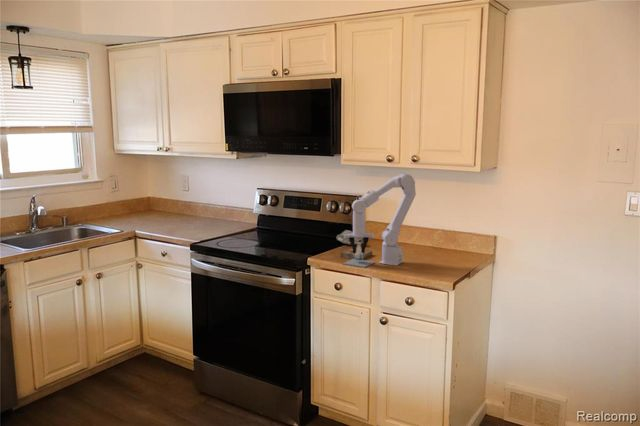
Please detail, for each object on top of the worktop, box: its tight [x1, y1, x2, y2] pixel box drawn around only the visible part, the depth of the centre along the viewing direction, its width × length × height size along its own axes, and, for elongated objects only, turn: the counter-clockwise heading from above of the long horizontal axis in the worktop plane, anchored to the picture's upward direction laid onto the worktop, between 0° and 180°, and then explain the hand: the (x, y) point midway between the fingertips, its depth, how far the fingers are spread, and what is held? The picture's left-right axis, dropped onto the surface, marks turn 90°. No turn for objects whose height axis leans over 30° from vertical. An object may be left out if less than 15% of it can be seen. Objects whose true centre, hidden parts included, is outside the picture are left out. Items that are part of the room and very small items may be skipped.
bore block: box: [339, 247, 373, 260], centre depth 261 cm, size 12×12×2 cm
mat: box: [342, 259, 375, 268], centre depth 247 cm, size 12×10×1 cm
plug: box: [354, 241, 364, 260], centre depth 246 cm, size 4×4×8 cm
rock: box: [335, 229, 363, 246], centre depth 288 cm, size 18×10×10 cm
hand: (358, 252), depth 246 cm, fingers closed on plug, 4 cm apart
